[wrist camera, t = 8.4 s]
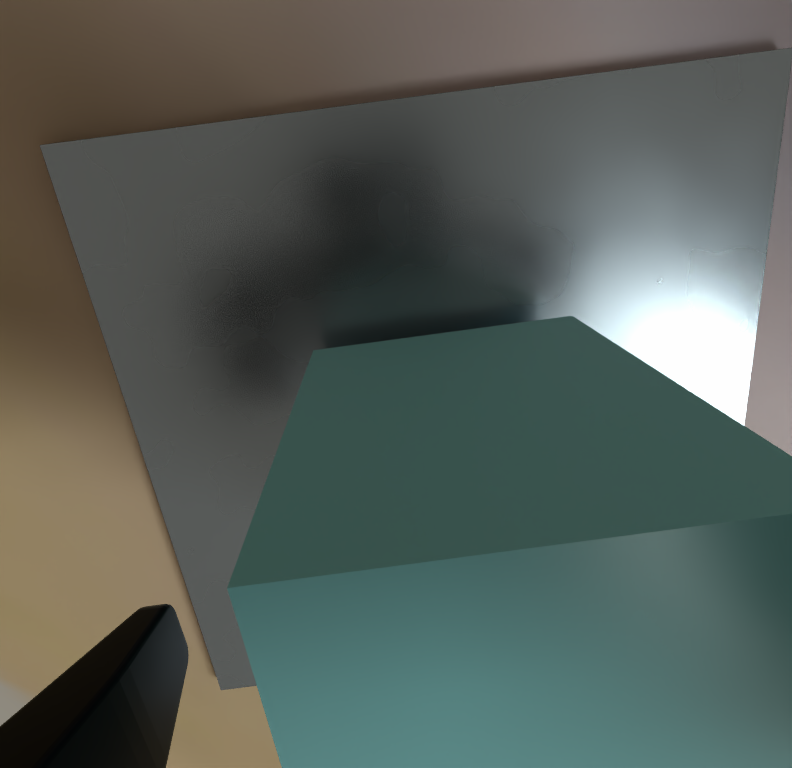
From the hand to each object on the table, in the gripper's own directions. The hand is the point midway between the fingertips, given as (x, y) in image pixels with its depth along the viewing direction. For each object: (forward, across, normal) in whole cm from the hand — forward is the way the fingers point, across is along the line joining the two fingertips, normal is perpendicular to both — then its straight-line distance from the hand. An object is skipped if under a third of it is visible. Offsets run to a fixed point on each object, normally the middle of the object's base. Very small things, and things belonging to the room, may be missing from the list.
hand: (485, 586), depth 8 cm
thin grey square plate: (+5, 0, 0) cm, 5 cm away
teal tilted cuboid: (+4, 0, 0) cm, 4 cm away
